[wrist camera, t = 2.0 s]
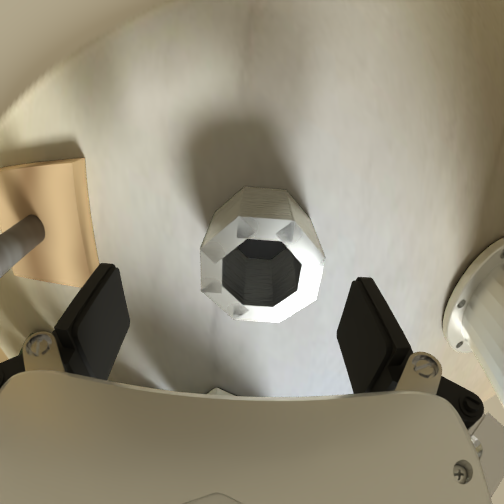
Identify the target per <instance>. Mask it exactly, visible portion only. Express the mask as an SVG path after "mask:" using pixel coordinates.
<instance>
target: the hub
mask: <svg viewBox="0 0 504 504" xmlns="http://www.w3.org/2000/svg"><path fill="white" fill-rule="evenodd" d="M246 239H257V240H271V241H282V242H283V243H284V244H285V246H286V247H287V248H286V249H285V250H284V251H282V252H281V253H280V254H278V255H277V256H275V257H274V258H273V259H271V260H269V259H255V258H247V257H246V256H245V255H244V254H243V253H242V252H241V251H240V250H239V249H238V248H237V246H239V245H240V244H241V243H242V242H244V241H245V240H246ZM324 261H325V255H324V252H323V250H322V247H321V244H320V242H319V239H318V237H317V234H316V232H315V229H314V227H313V224H312V222H311V219H310V218H309V217H308V216H307V214H306V213H305V212H304V211H303V210H302V208H301V207H300V206H299V205H298V204H297V202H296V201H295V200H294V199H293V198H292V197H291V195H290V194H289V193H288V192H287V190H286V189H285V190H283V189H272V188H259V187H246V186H244V188H243V189H241V190H240V191H239V192H238V193H237V194H236V195H234V196H233V197H232V198H231V199H230V200H229V201H227V202H226V203H225V204H224V205H223V206H222V207H220V208H219V209H218V210H217V211H215V214H214V216H213V218H212V221H211V223H210V225H209V228H208V230H207V233H206V235H205V237H204V240H203V242H202V244H201V247H200V262H201V292H203V293H204V294H205V295H206V296H207V297H209V298H210V299H211V300H212V301H213V302H214V303H215V304H217V305H218V306H219V307H220V308H221V309H222V310H223V311H225V312H226V313H227V314H228V315H229V316H230V317H232V318H233V319H234V320H246V321H261V322H277V323H280V322H281V321H282V320H284V319H286V318H287V317H289V316H290V315H292V314H294V313H295V312H297V311H298V310H300V309H302V308H303V307H305V306H306V305H308V304H309V303H311V302H312V301H314V300H316V299H317V298H316V297H317V293H318V289H319V284H320V280H321V275H322V270H323V266H324Z"/></svg>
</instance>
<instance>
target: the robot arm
mask: <svg viewBox="0 0 504 504" xmlns="http://www.w3.org/2000/svg"><path fill="white" fill-rule="evenodd" d="M129 325H130V318H129V314H128V310H127V305H126V301H125V296H124V291H123V287H122V282H121V277H120V271H119V269H118V268H116V267H115V265H114V264H107V263H100V264H99V266H98V267H97V268H96V269H95V271H94V272H93V273H92V275H91V276H90V277H89V279H88V280H87V281H86V283H85V284H84V285H83V287H82V288H81V289H80V291H79V292H78V294H77V295H76V296H75V298H74V299H73V301H72V302H71V303H70V305H69V306H68V308H67V309H66V311H65V312H64V314H63V315H62V317H61V318H60V319H59V321H58V322H57V324H56V326H55V327H54V329H55V330H54V331H53V333H52V334H51V333H49V332H46V331H40V332H36V333H34V334H32V335H31V336H29V337H28V338H27V339H26V341H25V342H24V344H23V349H22V351H23V354H21V355H18V356H16V357H13V358H11V359H9V360H7V361H4V362H2V363H0V504H492V501H491V497H492V495H493V493H494V492H495V490H496V489H497V487H498V486H499V484H500V482H501V481H502V479H503V477H504V426H503V425H501V424H500V423H499V422H498V421H497V420H496V419H495V418H494V417H493V416H491V414H489V413H487V414H486V415H485V414H484V407H483V403H482V401H481V399H480V398H479V397H478V396H477V395H476V394H474V393H473V392H471V391H469V390H467V389H465V388H463V387H461V386H459V385H458V384H456V383H454V382H452V381H450V380H448V379H446V378H444V377H442V376H441V375H442V367H441V364H440V363H439V361H438V360H437V359H436V358H435V357H434V356H432V355H431V354H429V353H426V352H415V353H413V351H412V349H411V346H410V344H409V342H408V340H407V339H406V337H405V335H404V333H403V331H402V329H401V327H400V326H399V324H398V322H397V320H396V318H395V317H394V315H393V313H392V311H391V309H390V308H389V306H388V304H387V302H386V301H385V299H384V297H383V296H382V294H381V292H380V290H379V289H378V287H377V285H376V284H375V282H374V280H373V279H372V278H369V277H358V278H357V279H356V281H353V282H352V284H351V288H350V291H349V294H348V298H347V301H346V304H345V308H344V311H343V314H342V317H341V320H340V323H339V326H338V329H337V339H338V342H339V346H340V349H341V352H342V355H343V359H344V362H345V365H346V368H347V372H348V375H349V379H350V382H351V385H352V389H353V392H354V394H346V395H330V396H311V397H244V396H223V395H209V394H197V393H187V392H178V391H169V390H161V389H154V388H147V387H141V386H135V385H129V384H123V383H118V382H112V381H107V379H108V376H109V374H110V371H111V369H112V366H113V364H114V361H115V359H116V357H117V354H118V352H119V349H120V347H121V345H122V342H123V340H124V338H125V335H126V333H127V331H128V328H129ZM443 333H444V336H445V339H446V340H447V342H448V344H449V346H450V347H451V348H452V349H453V350H454V351H457V352H459V353H472V352H473V353H474V355H475V357H476V358H477V360H478V362H479V363H480V365H481V367H482V369H483V370H484V372H485V374H486V376H487V377H488V379H489V381H490V383H491V385H492V387H493V389H494V390H495V392H496V394H497V396H498V398H499V400H500V402H501V404H502V406H503V408H504V238H502V239H500V240H498V241H496V242H495V243H493V244H492V245H490V246H489V247H488V248H487V249H486V250H484V251H483V252H482V253H481V254H480V255H479V256H478V257H477V258H476V259H475V260H474V261H473V263H472V264H471V265H470V266H469V267H468V269H467V270H466V271H465V273H464V274H463V275H462V277H461V279H460V280H459V282H458V284H457V285H456V287H455V288H454V291H453V293H452V295H451V297H450V299H449V301H448V304H447V307H446V310H445V313H444V319H443Z"/></svg>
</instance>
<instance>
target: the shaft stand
mask: <svg viewBox="0 0 504 504" xmlns="http://www.w3.org/2000/svg"><path fill="white" fill-rule="evenodd" d="M0 228H1V232H2V234H1V235H0V278H1V277H2V276H3V275H4V274H5V273H6V272H7V271H8V270H9V269H11V268H12V270H13V273H14V276H19V277H24V278H30V279H35V280H40V281H46V282H51V283H57V284H63V285H69V286H75V287H81V288H82V287H83V285H84V284H85V283H86V281H87V280H88V279H89V277H90V276H91V275H92V273H93V272H94V271H95V269H96V268H97V267H98V266H99V260H98V255H97V250H96V244H95V239H94V233H93V227H92V220H91V213H90V205H89V197H88V188H87V178H86V166H85V158H75V159H64V160H54V161H45V162H36V163H29V164H21V165H14V166H8V167H2V168H0Z"/></svg>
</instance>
